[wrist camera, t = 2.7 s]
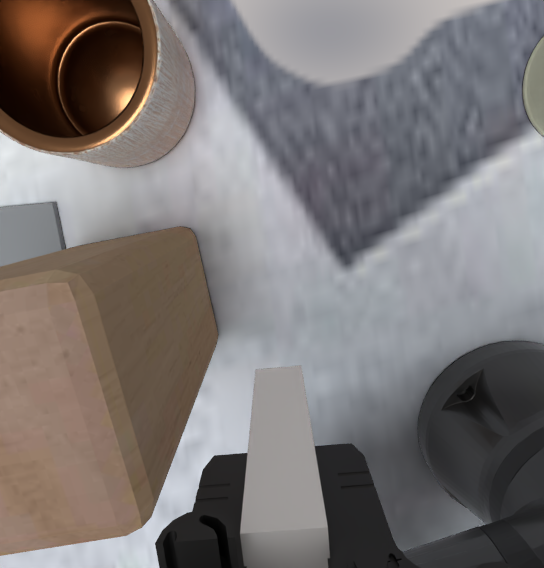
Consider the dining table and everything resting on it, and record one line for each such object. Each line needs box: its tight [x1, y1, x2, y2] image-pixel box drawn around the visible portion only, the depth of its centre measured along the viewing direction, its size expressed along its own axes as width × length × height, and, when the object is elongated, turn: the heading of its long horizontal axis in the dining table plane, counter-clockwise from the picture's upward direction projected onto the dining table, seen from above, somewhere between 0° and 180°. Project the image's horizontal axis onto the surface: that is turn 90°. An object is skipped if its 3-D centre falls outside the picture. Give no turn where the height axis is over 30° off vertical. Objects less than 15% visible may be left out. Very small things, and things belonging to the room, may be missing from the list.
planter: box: [0, 0, 195, 168], centre depth 25 cm, size 11×11×10 cm
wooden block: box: [0, 227, 218, 556], centre depth 23 cm, size 10×10×20 cm
